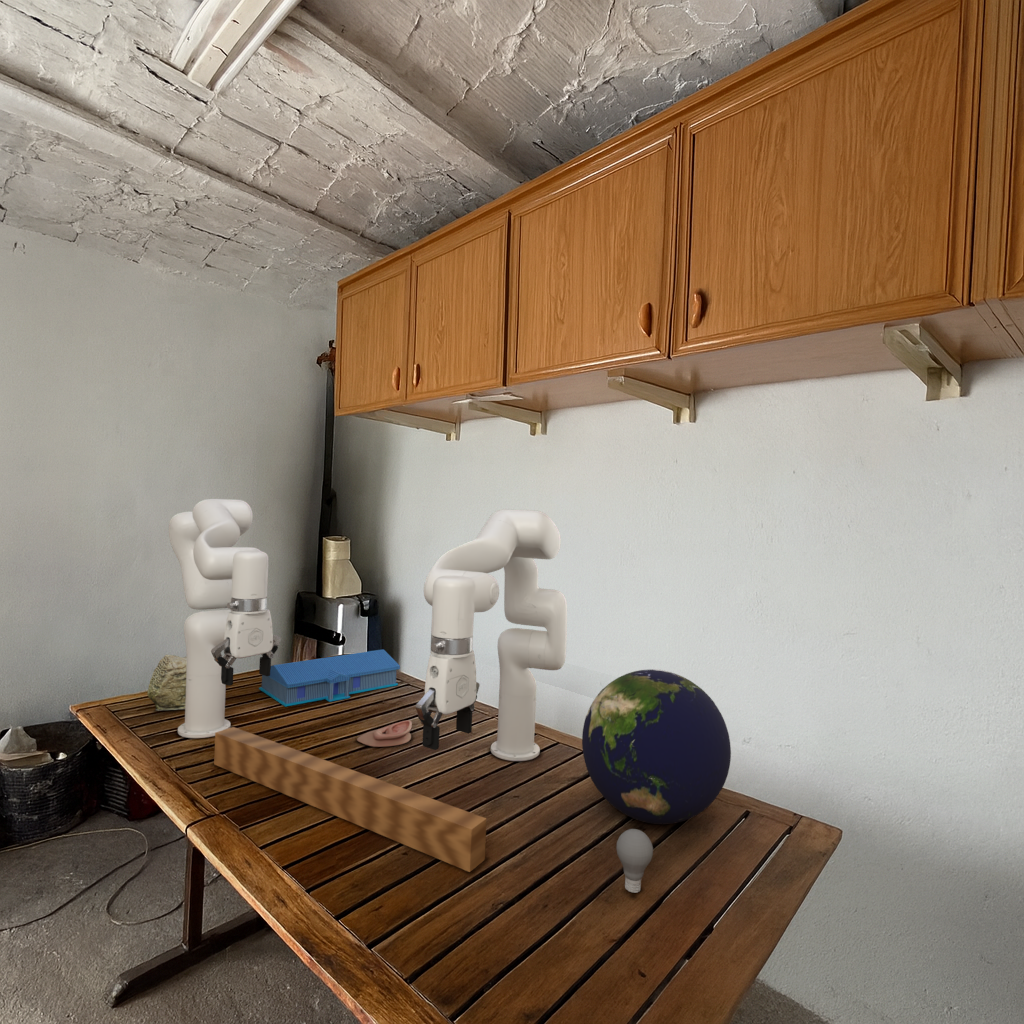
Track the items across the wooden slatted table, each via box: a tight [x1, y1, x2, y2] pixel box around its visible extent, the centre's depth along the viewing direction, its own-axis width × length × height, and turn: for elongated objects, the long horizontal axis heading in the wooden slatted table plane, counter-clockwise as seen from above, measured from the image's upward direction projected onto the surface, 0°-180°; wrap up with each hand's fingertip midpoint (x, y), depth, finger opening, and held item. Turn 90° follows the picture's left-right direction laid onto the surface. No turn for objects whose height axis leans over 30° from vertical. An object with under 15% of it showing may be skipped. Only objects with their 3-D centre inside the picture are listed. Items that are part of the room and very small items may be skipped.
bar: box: [213, 726, 488, 873], centre depth 130 cm, size 73×5×8 cm, turn 59°
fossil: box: [147, 654, 187, 712], centre depth 185 cm, size 9×18×15 cm, turn 132°
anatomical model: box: [356, 719, 413, 748], centre depth 166 cm, size 13×4×12 cm
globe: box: [581, 668, 732, 825], centre depth 131 cm, size 30×30×30 cm
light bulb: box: [615, 828, 654, 894], centre depth 106 cm, size 6×6×10 cm
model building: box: [258, 649, 401, 707], centre depth 208 cm, size 39×24×10 cm, turn 132°
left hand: (246, 679), depth 145 cm, fingers open, 9 cm apart
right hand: (447, 739), depth 114 cm, fingers open, 9 cm apart
